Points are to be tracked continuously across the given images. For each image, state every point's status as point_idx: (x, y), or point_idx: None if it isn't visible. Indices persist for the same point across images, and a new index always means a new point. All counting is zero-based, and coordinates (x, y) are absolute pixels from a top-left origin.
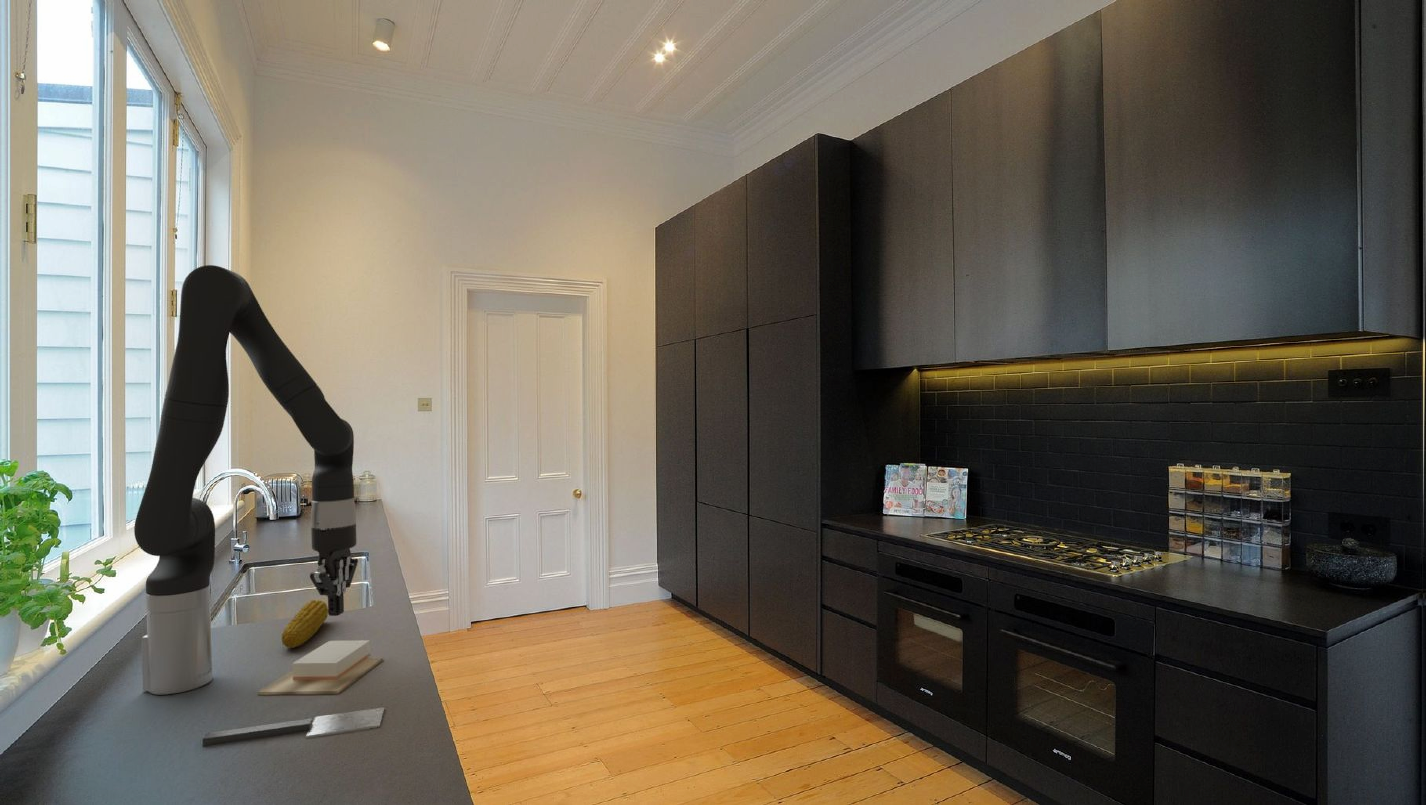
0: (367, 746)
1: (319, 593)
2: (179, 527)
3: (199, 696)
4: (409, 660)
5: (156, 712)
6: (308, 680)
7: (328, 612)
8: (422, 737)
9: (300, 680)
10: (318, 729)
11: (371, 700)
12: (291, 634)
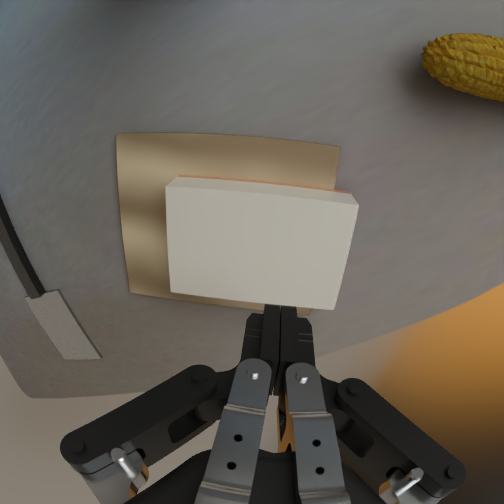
0: (37, 352)
1: (180, 372)
2: None
3: (120, 12)
4: None
5: (61, 4)
6: None
7: (265, 307)
8: (66, 387)
9: None
10: (37, 305)
11: (120, 339)
12: (442, 62)
